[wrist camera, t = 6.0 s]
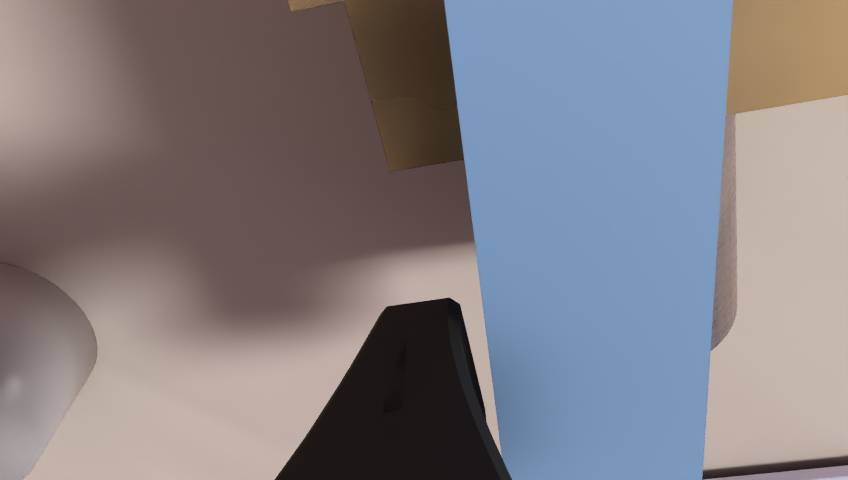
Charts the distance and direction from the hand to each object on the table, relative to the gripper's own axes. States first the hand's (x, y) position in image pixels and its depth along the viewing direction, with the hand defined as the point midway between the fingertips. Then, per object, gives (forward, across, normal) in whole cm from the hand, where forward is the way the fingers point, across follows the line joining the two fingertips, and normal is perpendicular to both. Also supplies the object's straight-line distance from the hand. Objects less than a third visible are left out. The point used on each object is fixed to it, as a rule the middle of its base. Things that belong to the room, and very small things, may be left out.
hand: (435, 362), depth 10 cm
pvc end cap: (+6, +11, +3) cm, 13 cm away
